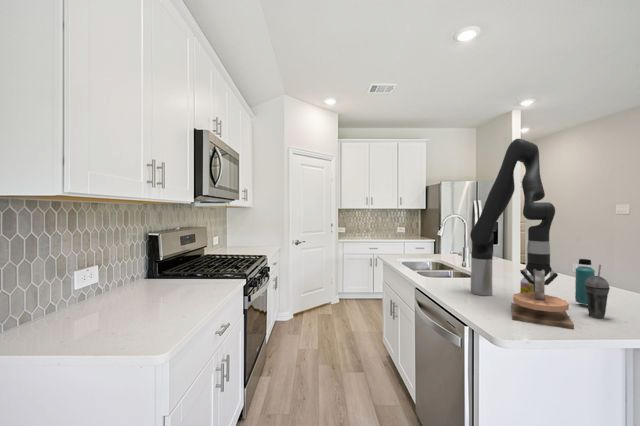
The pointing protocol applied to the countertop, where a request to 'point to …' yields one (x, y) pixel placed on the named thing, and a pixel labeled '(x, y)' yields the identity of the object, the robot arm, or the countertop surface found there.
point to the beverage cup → (597, 295)
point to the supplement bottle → (527, 285)
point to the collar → (541, 302)
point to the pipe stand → (537, 315)
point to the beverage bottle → (583, 280)
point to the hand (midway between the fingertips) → (538, 294)
